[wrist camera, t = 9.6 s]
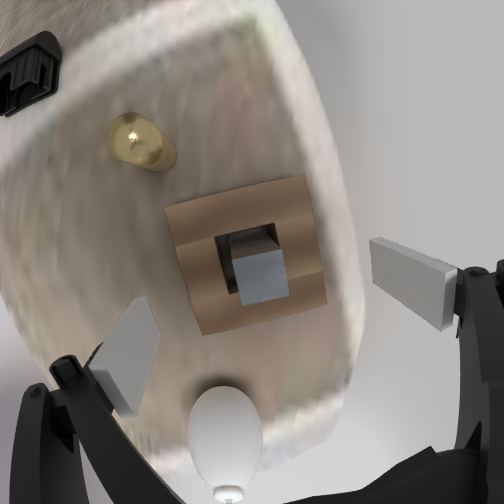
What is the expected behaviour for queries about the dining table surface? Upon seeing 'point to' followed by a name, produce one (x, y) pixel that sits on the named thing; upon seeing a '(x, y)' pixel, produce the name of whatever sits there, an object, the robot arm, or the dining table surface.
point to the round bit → (140, 143)
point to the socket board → (239, 218)
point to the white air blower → (225, 441)
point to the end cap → (29, 73)
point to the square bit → (258, 267)
